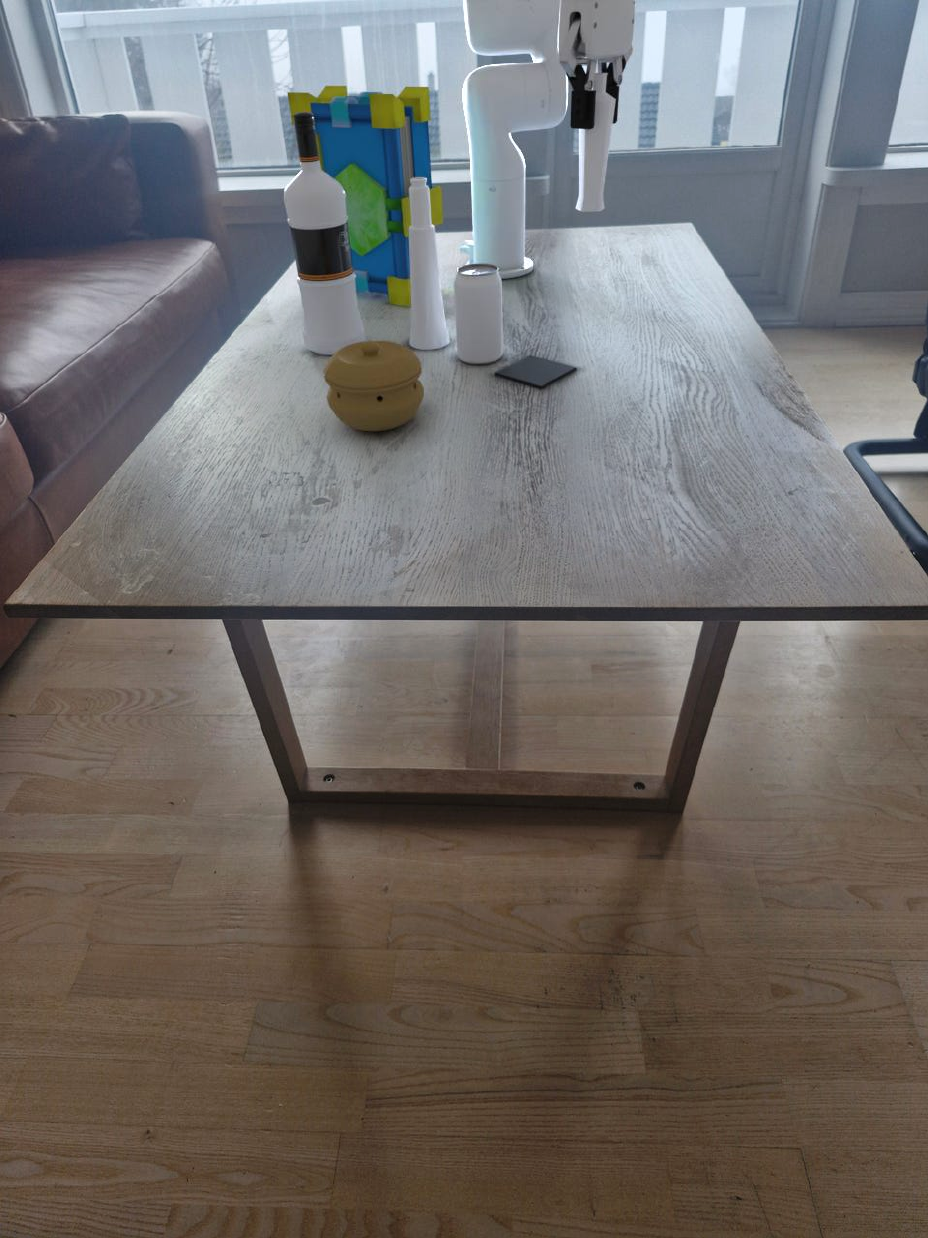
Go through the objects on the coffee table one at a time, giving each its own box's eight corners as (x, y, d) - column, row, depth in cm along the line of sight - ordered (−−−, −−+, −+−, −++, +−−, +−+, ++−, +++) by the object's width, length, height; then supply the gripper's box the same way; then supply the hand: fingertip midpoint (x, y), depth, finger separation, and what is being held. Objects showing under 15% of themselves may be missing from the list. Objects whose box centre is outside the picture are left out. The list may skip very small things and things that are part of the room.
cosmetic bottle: (402, 348, 118) (387, 181, 104) (419, 334, 122) (407, 173, 109) (439, 351, 116) (429, 183, 102) (455, 338, 120) (448, 174, 107)
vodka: (300, 340, 122) (260, 111, 104) (358, 331, 125) (330, 105, 106) (312, 360, 115) (272, 118, 97) (373, 350, 118) (346, 112, 99)
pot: (354, 399, 104) (344, 321, 98) (439, 407, 101) (434, 327, 95) (314, 437, 95) (300, 355, 89) (406, 447, 92) (398, 363, 86)
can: (508, 350, 115) (507, 263, 108) (494, 367, 111) (493, 276, 103) (466, 347, 117) (462, 261, 110) (451, 363, 112) (446, 274, 105)
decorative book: (407, 311, 132) (388, 95, 113) (301, 294, 142) (269, 93, 123) (453, 287, 141) (443, 84, 122) (351, 273, 151) (328, 83, 132)
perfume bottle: (606, 205, 108) (616, 71, 99) (608, 211, 104) (619, 73, 95) (572, 205, 108) (579, 72, 99) (573, 212, 105) (580, 74, 96)
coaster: (494, 375, 108) (494, 372, 108) (530, 357, 113) (530, 354, 113) (541, 388, 104) (541, 385, 104) (576, 369, 109) (576, 367, 108)
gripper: (615, -62, 96) (604, 116, 107) (531, -63, 86) (529, 133, 97) (671, -67, 92) (654, 118, 103) (590, -68, 82) (581, 136, 93)
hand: (593, 123), depth 100 cm, fingers closed on perfume bottle, 4 cm apart
